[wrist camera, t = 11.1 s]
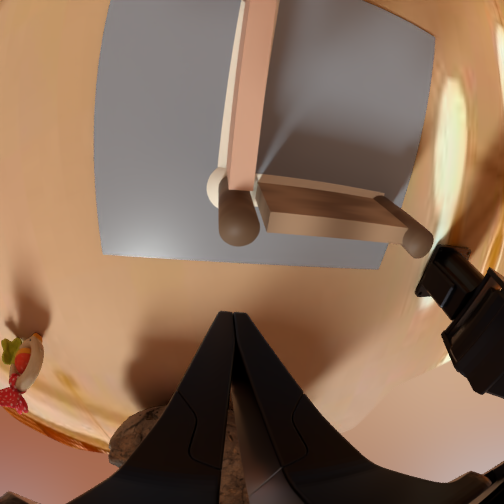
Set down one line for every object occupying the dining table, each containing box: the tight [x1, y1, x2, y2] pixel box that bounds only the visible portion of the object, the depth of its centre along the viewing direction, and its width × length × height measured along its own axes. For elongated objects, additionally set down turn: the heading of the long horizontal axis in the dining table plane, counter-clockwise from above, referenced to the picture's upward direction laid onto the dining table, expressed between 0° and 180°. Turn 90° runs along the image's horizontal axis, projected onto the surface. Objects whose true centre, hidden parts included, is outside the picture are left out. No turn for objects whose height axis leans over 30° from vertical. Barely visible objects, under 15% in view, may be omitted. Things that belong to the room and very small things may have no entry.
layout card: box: [94, 0, 435, 269], centre depth 17 cm, size 24×22×1 cm
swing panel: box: [226, 0, 277, 191], centre depth 12 cm, size 13×2×5 cm, turn 174°
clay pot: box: [109, 405, 250, 504], centre depth 27 cm, size 25×24×22 cm
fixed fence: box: [218, 176, 433, 258], centre depth 17 cm, size 14×2×6 cm, turn 82°
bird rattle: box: [0, 333, 44, 414], centre depth 21 cm, size 6×11×9 cm
